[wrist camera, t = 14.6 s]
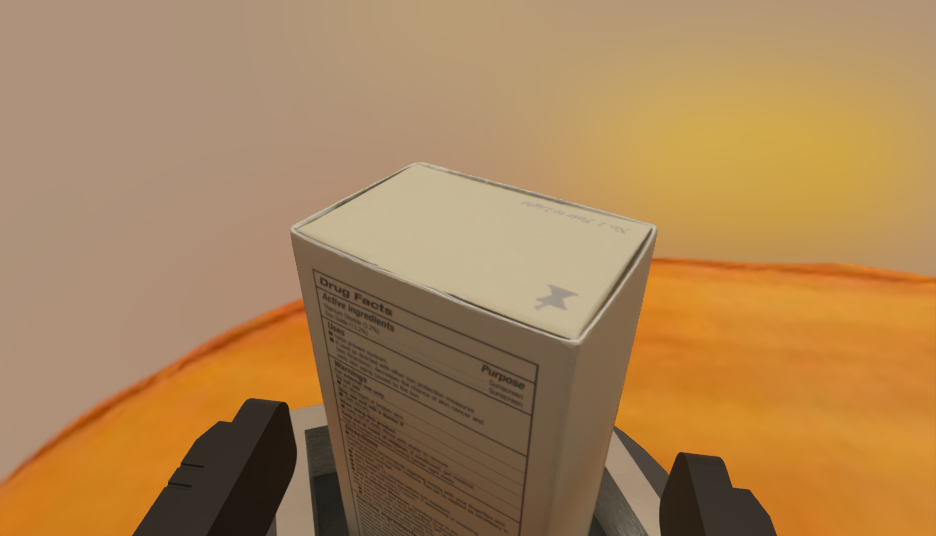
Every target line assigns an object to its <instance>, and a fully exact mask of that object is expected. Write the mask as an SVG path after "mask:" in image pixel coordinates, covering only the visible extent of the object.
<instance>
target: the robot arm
mask: <svg viewBox="0 0 936 536" xmlns="http://www.w3.org/2000/svg"><path fill="white" fill-rule="evenodd" d="M296 461H297V446H296V441H295V436H294V431H293V426H292V422H291V417H290V412H289V407H288V405H287V403H285V402H279V401H271V400H263V399H255V398H250V399H248V400H246V401H245V402H244V404H243V405H242V407H241V408H240V410H239V411H238V413H237V415H236V416H235V418H234V419H233V421H232V422H224V421H219V422H217V423H216V424H215V425H214V426H212V427H211V428H210V429H209V430H208V431H206V432H205V433H204V434H203V435H201V436H200V437H199V438H198V439H197V440H196V441H195V442H194V444H193V445H192V447H191V448H190V450H189V451H188V453H187V454H186V456H185V457H184V459H183V460H182V462H181V466H180V468H177V469H176V471H175V472H174V474H173V475H172V477H171V478H170V480H169V481H168V486H167V487H164V489H163V490H162V492H161V493H160V495H159V496H158V498H157V499H156V501H155V502H154V504H153V505H152V507H151V508H150V510H149V511H148V513H147V514H146V516H145V517H144V519H143V520H142V522H141V523H140V525H139V526H138V528H137V529H136V531H135V532H134V534H133V535H132V536H266V534H267V532H268V530H269V528H270V526H271V523H272V521H273V519H274V517H275V515H276V512H277V510H278V508H279V506H280V504H281V501H282V499H283V497H284V495H285V493H286V490H287V488H288V486H289V484H290V482H291V479H292V477H293V474H294V471H295V467H296ZM659 526H660V533H661V536H777V535H776V532H775V529H774V526H773V524H772V521H771V518H770V516H769V515H768V513H767V512H766V511H765V509H764V508H763V507H762V505H761V504H760V503H759V502H758V500H757V499H756V498H755V496H754V495H753V494H752V493H751V491H750V490H747V489H739V488H732V484H731V481H730V478H729V475H728V472H727V469H726V466H725V463H724V462H723V460H722V459H721V458H720V457H716V456H708V455H700V454H692V453H684V452H680V453H678V455H677V457H676V459H675V462H674V464H673V467H672V470H671V472H670V475H669V478H668V480H667V483H666V486H665V488H664V491H663V493H662V496H661V500H660V506H659Z"/></svg>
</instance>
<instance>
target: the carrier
mask: <svg viewBox="0 0 936 536" xmlns="http://www.w3.org/2000/svg"><path fill="white" fill-rule="evenodd" d="M289 412H290V417H291V422H292V426H293V431H294V436H295V441H296V446H297V461H296V467H295V471H294V474H293V477H292V479H291V482H290V484H289V486H288V488H287V490H286V493H285V495H284V497H283V499H282V501H281V504H280V506H279V508H278V510H277V512H276V515H275V517H274V519H273V521H272V523H271V526H270V528H269V530H268V532H267V534H266V536H350V535H349V530H348V525H347V520H346V515H345V510H344V505H343V500H342V495H341V489H340V484H339V479H338V474H337V469H336V463H335V458H334V453H333V448H332V444H331V439H330V434H329V429H328V424H327V418H326V413H325V408H324V404H320V405H315V406H310V407H305V408H300V409H296V410H291V411H289ZM668 478H669V475H668V473H667V472H666V471H665V470H664V469H663V468H662V467H661V466H660V465H659V464H658V463H657V462H656V461H655V460H654V459H653V458H652V457H651V456H650V455H649V454H648V453H647V452H646V451H645V450H644V449H643V448H642V447H641V446H640V445H638V444H637V443H636V442H635V441H634V440H632V439H631V438H630V437H629V436H628V435H626V434H625V433H624V432H623V431H621V430H620V429H618V428H617V427H615V426H614V428H613V433H612V437H611V441H610V446H609V450H608V455H607V459H606V463H605V467H604V471H603V475H602V479H601V483H600V487H599V492H598V496H597V500H596V505H595V509H594V513H593V517H592V522H591V526H590V530H589V534H588V536H661V533H660V526H659V506H660V500H661V496H662V493H663V491H664V488H665V486H666V483H667V480H668Z"/></svg>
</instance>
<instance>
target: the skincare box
mask: <svg viewBox="0 0 936 536" xmlns="http://www.w3.org/2000/svg"><path fill="white" fill-rule="evenodd" d="M290 234H291V240H292V246H293V251H294V256H295V261H296V265H297V271H298V275H299V280H300V285H301V290H302V295H303V300H304V305H305V310H306V315H307V320H308V325H309V331H310V336H311V341H312V346H313V351H314V356H315V362H316V367H317V372H318V377H319V382H320V387H321V393H322V398H323V403H324V408H325V413H326V418H327V424H328V429H329V434H330V439H331V444H332V448H333V453H334V458H335V463H336V469H337V474H338V479H339V484H340V489H341V495H342V500H343V505H344V510H345V515H346V520H347V525H348V530H349V535H350V536H588V534H589V530H590V526H591V522H592V517H593V513H594V509H595V505H596V500H597V496H598V492H599V487H600V483H601V479H602V475H603V471H604V467H605V463H606V459H607V455H608V450H609V446H610V441H611V437H612V433H613V428H614V424H615V420H616V416H617V411H618V407H619V402H620V398H621V394H622V390H623V386H624V381H625V377H626V372H627V368H628V364H629V359H630V355H631V351H632V346H633V342H634V337H635V333H636V328H637V324H638V319H639V315H640V310H641V306H642V302H643V297H644V292H645V287H646V283H647V278H648V274H649V269H650V264H651V260H652V255H653V251H654V246H655V241H656V236H657V228H656V226H655V225H652V224H649V223H646V222H643V221H637V220H633V219H631V218H628V217H624V216H620V215H617V214H613V213H610V212H607V211H602V210H598V209H595V208H591V207H588V206H584V205H581V204H576V203H573V202H568V201H565V200H560V199H559V198H555V197H550V196H547V195H543V194H540V193H537V192H532V191H528V190H525V189H520V188H517V187H514V186H511V185H504V184H502V183H498V182H495V181H490V180H487V179H484V178H480V177H477V176H473V175H468V174H464V173H461V172H457V171H453V170H450V169H446V168H443V167H439V166H435V165H431V164H428V163H423V162H417V163H414V164H411V165H409V166H407V167H405V168H403V169H401V170H400V171H398V172H396V173H394V174H392V175H390V176H388V177H386V178H384V179H382V180H380V181H378V182H376V183H374V184H372V185H370V186H368V187H366V188H364V189H362V190H360V191H358V192H357V193H355V194H353V195H350V196H349V197H347V198H345V199H342V200H340V201H339V202H337V203H335V204H333V205H331V206H329V207H327V208H326V209H324V210H322V211H320V212H318V213H316V214H314V215H312V216H310V217H308V218H306V219H305V220H303V221H301V222H298V223H296V224H295V225H293V226H292V227H291V228H290Z"/></svg>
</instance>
